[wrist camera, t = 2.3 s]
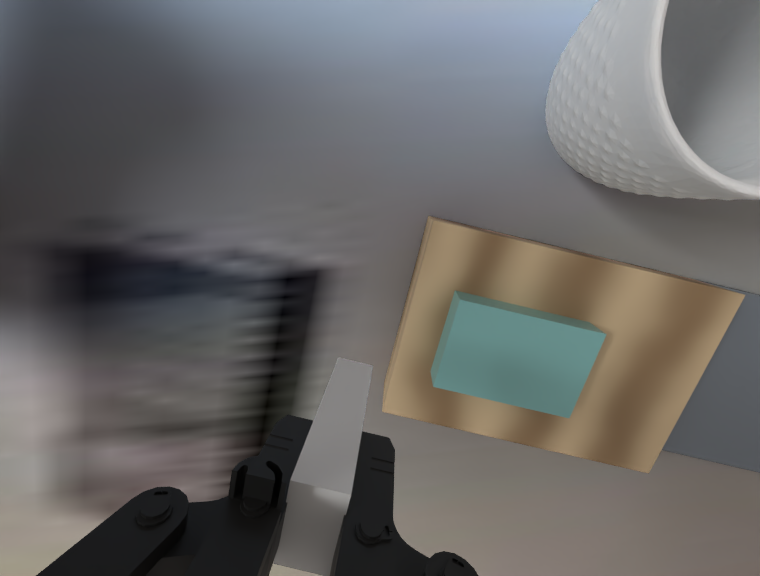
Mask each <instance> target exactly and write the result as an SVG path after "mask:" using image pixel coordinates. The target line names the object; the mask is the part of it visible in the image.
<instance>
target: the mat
mask: <svg viewBox="0 0 760 576" xmlns="http://www.w3.org/2000/svg"><path fill="white" fill-rule="evenodd" d="M694 280H695V279H694ZM698 281H699V280H698ZM701 282H703V281H701ZM704 283H707V282H704ZM708 284H711V283H708ZM711 285H714V286H718V287H721V288H724V289H727V290H731V291H734V292H737V293H741V294H744V295H745V297H744V299H743V301H742V303H741V304H740V306H739V308H738V310H737V312H736V314H735V315H734V317H733V319H732V321H731V323H730V325H729V326H728V328H727V330H726V332H725V334H724V336H723V338H722V339H721V341H720V343H719V345H718V347H717V349H716V350H715V352H714V354H713V356H712V358H711V360H710V361H709V363H708V365H707V367H706V369H705V371H704V373H703V374H702V376H701V378H700V380H699V382H698V384H697V385H696V387H695V389H694V391H693V393H692V395H691V396H690V398H689V400H688V402H687V404H686V406H685V408H684V409H683V411H682V413H681V415H680V417H679V419H678V420H677V422H676V424H675V426H674V428H673V430H672V431H671V433H670V435H669V437H668V439H667V441H666V443H665V444H664V446H663V448H662V450H665V451H669V452H673V453H678V454H682V455H686V456H691V457H695V458H699V459H703V460H708V461H712V462H716V463H721V464H725V465H729V466H734V467H738V468H742V469H747V470H751V471H755V472H759V473H760V295H757V294H753V293H749V292H745V291H740V290H736V289H732V288H728V287H724V286H720V285H715V284H711Z"/></svg>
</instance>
